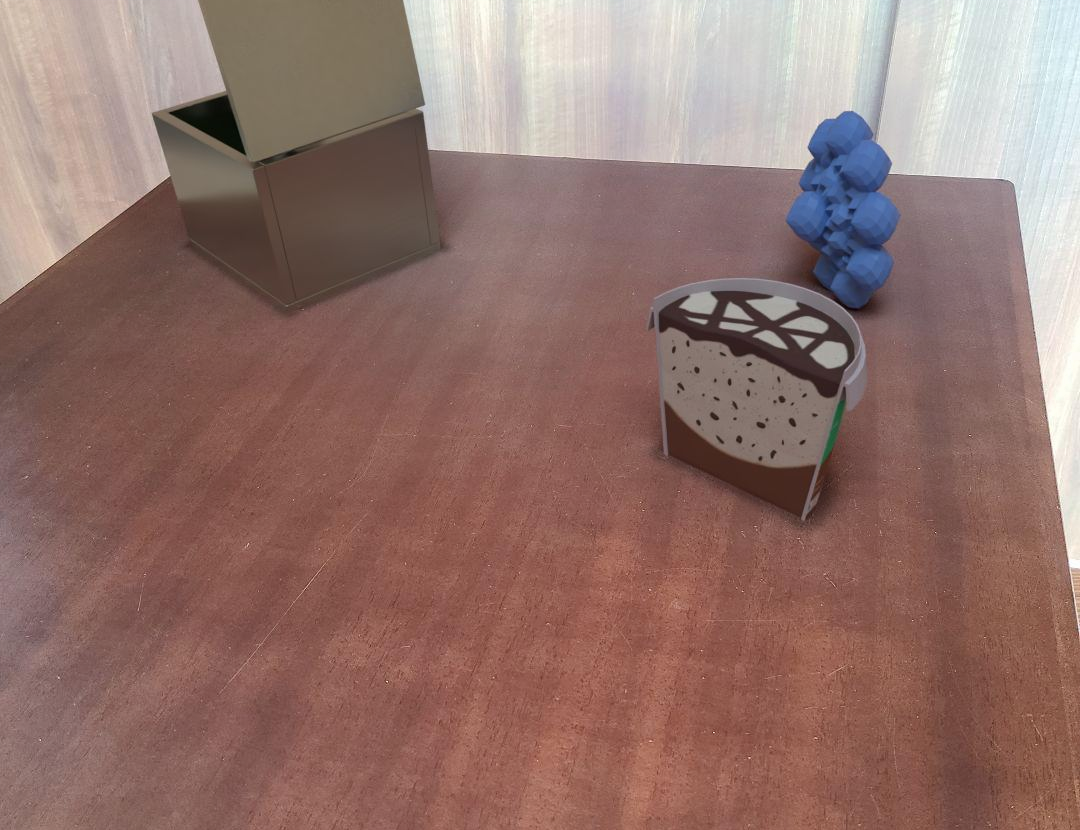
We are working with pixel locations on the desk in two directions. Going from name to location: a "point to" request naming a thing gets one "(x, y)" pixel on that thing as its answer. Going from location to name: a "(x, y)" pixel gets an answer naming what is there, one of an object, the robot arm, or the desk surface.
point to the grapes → (846, 209)
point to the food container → (756, 383)
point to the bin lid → (311, 67)
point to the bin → (301, 201)
